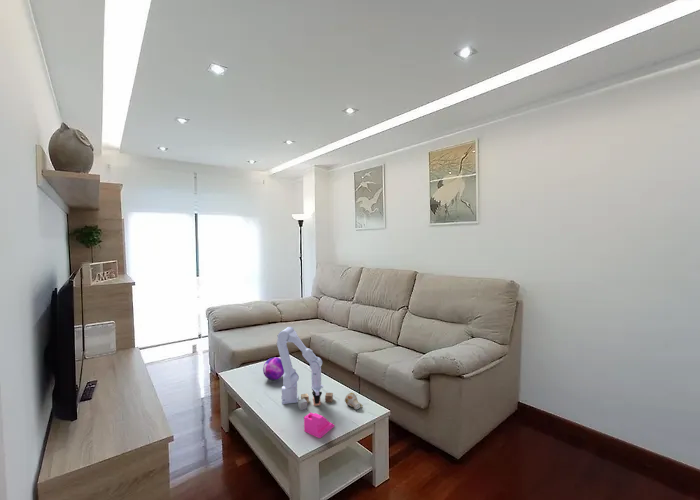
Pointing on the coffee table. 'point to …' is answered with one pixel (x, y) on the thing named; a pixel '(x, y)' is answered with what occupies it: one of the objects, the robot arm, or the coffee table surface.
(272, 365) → the decorative orb
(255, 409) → the coffee table surface
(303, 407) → the slate cube
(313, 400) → the terracotta cube
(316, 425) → the bracket
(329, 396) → the walnut cube
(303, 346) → the robot arm
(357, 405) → the cream patterned bulbous figurine
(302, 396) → the beech cube
